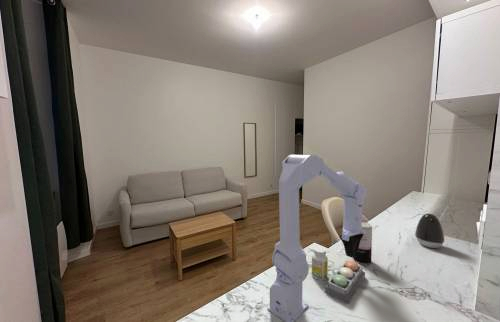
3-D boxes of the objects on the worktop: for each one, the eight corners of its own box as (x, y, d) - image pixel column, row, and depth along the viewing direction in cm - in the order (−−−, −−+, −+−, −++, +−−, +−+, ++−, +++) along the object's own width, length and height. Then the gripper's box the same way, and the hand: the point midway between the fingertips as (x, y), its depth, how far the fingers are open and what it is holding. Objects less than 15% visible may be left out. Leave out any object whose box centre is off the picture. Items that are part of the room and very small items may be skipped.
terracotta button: (355, 273, 68) (356, 268, 67) (343, 268, 70) (343, 264, 70) (359, 268, 70) (359, 263, 70) (347, 263, 73) (347, 259, 73)
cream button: (350, 280, 64) (350, 275, 64) (337, 275, 66) (337, 270, 66) (354, 275, 66) (354, 270, 66) (342, 270, 69) (342, 265, 69)
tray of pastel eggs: (348, 304, 58) (348, 292, 58) (324, 292, 63) (325, 281, 63) (364, 277, 70) (365, 267, 70) (344, 269, 75) (344, 260, 75)
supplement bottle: (315, 281, 68) (315, 253, 68) (309, 271, 74) (309, 246, 73) (330, 280, 69) (330, 253, 69) (323, 270, 74) (323, 245, 74)
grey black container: (357, 254, 86) (357, 220, 85) (374, 261, 81) (374, 224, 80) (350, 259, 82) (350, 224, 81) (367, 267, 77) (368, 228, 76)
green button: (344, 289, 60) (344, 284, 60) (331, 283, 62) (331, 278, 62) (348, 282, 63) (349, 278, 62) (336, 277, 65) (336, 272, 65)
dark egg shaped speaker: (420, 248, 91) (421, 216, 90) (411, 239, 100) (412, 209, 100) (449, 252, 87) (450, 218, 86) (437, 242, 97) (438, 211, 96)
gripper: (358, 224, 62) (357, 267, 62) (371, 213, 72) (370, 250, 73) (335, 219, 66) (335, 258, 67) (350, 209, 77) (349, 244, 77)
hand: (351, 253), depth 70 cm, fingers open, 4 cm apart
